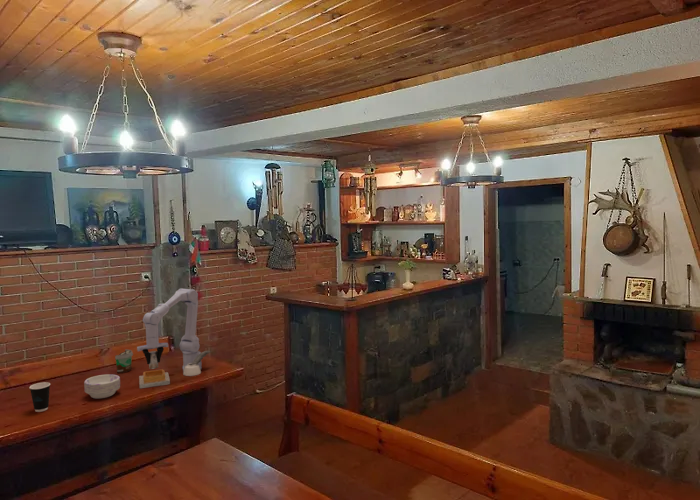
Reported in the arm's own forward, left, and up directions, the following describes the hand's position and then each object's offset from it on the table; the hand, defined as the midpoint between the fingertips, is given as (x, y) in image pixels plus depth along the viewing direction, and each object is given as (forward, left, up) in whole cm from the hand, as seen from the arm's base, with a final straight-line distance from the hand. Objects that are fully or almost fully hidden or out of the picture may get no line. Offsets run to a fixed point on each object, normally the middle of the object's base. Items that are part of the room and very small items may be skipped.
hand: (153, 362), depth 256 cm
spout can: (0, +1, -2) cm, 3 cm away
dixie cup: (+47, +17, -10) cm, 51 cm away
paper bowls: (+23, +9, -10) cm, 27 cm away
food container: (+13, -27, -10) cm, 32 cm away
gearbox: (0, 0, -10) cm, 10 cm away
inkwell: (-22, -8, -10) cm, 26 cm away
